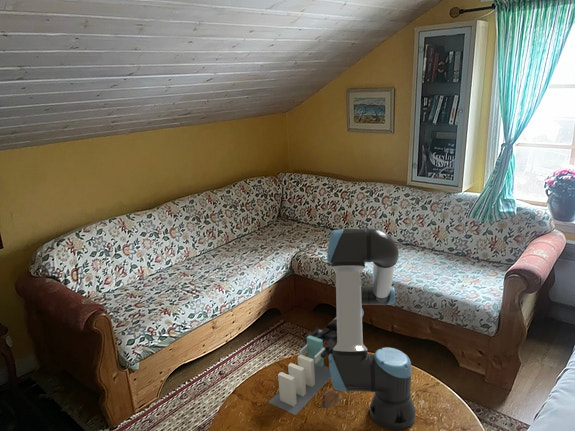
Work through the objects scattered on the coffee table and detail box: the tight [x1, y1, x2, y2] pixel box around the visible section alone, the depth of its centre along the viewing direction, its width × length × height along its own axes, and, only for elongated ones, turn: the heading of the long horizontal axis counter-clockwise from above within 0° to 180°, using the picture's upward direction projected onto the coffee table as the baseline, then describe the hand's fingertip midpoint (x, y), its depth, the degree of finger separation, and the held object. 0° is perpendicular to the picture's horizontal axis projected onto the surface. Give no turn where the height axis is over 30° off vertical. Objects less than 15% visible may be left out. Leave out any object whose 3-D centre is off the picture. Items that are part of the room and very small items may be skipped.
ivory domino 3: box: [297, 353, 315, 387], centre depth 172 cm, size 6×2×11 cm, turn 54°
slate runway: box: [268, 364, 331, 416], centre depth 172 cm, size 12×28×1 cm, turn 144°
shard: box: [321, 388, 344, 409], centre depth 164 cm, size 11×8×2 cm
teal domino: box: [306, 334, 325, 367], centre depth 176 cm, size 6×2×11 cm, turn 54°
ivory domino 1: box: [277, 371, 297, 406], centre depth 163 cm, size 6×2×11 cm, turn 54°
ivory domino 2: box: [287, 362, 306, 396], centre depth 167 cm, size 6×2×11 cm, turn 54°
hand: (307, 357), depth 171 cm, fingers closed on teal domino, 6 cm apart
